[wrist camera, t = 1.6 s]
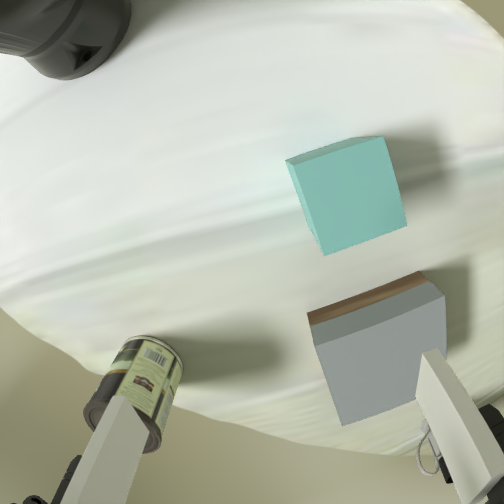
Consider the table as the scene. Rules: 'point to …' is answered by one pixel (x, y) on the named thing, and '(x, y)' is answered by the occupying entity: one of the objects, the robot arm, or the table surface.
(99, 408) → the coffee can
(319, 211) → the teal block
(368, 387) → the grey slab
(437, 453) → the grey black mug
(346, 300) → the walnut slab
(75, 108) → the table surface
